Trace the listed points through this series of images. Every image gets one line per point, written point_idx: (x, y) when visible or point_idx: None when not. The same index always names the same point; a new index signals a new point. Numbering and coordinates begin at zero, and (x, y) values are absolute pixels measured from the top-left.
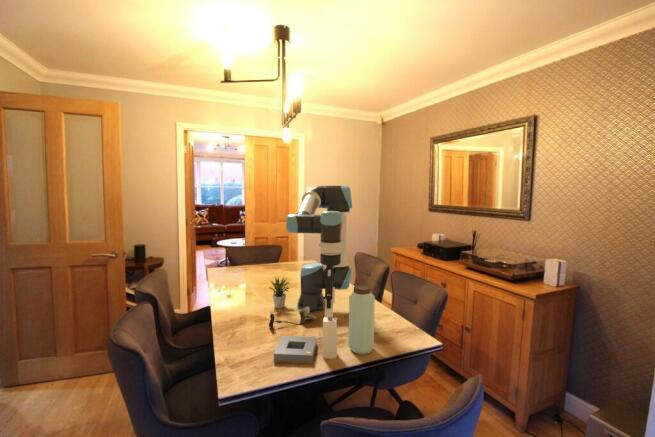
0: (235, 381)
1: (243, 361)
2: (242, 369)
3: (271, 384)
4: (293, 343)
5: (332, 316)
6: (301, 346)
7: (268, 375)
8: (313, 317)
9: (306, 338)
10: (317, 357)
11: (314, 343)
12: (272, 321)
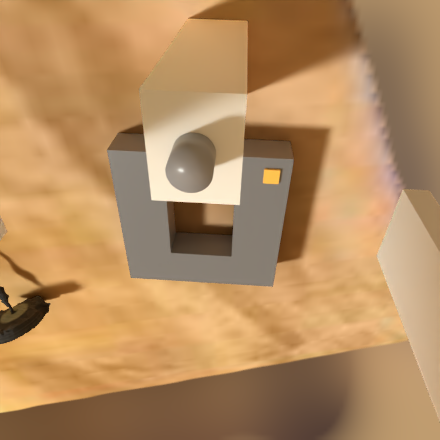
0: (370, 327)
1: (268, 328)
2: (311, 323)
3: None
4: (170, 232)
5: (430, 195)
6: None
7: (355, 267)
8: None
9: (131, 193)
10: None
11: None
12: (34, 320)
